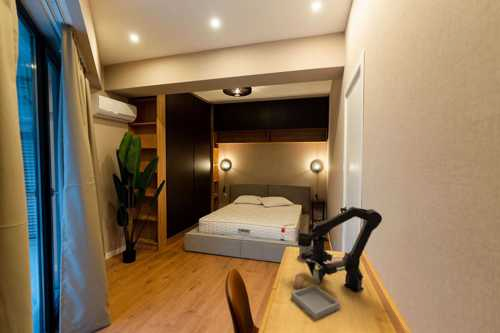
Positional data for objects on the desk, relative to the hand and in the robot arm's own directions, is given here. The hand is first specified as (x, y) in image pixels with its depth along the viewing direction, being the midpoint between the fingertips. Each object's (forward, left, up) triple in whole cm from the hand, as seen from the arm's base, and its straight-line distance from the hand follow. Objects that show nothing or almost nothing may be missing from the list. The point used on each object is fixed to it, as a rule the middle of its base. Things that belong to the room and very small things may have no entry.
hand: (317, 278), depth 107 cm
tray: (-12, +14, -1) cm, 18 cm away
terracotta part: (0, +12, -1) cm, 12 cm away
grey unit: (+20, -15, -1) cm, 25 cm away
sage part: (0, 0, -1) cm, 1 cm away
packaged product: (+6, -20, -2) cm, 21 cm away
